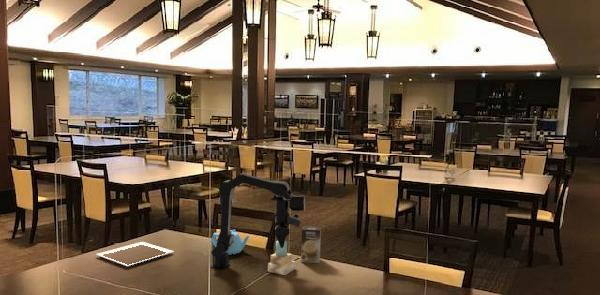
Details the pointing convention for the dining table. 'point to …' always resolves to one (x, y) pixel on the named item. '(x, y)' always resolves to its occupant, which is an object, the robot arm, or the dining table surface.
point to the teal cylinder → (281, 249)
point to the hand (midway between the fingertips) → (281, 244)
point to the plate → (135, 246)
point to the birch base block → (281, 268)
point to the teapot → (237, 244)
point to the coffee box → (310, 244)
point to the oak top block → (281, 259)
